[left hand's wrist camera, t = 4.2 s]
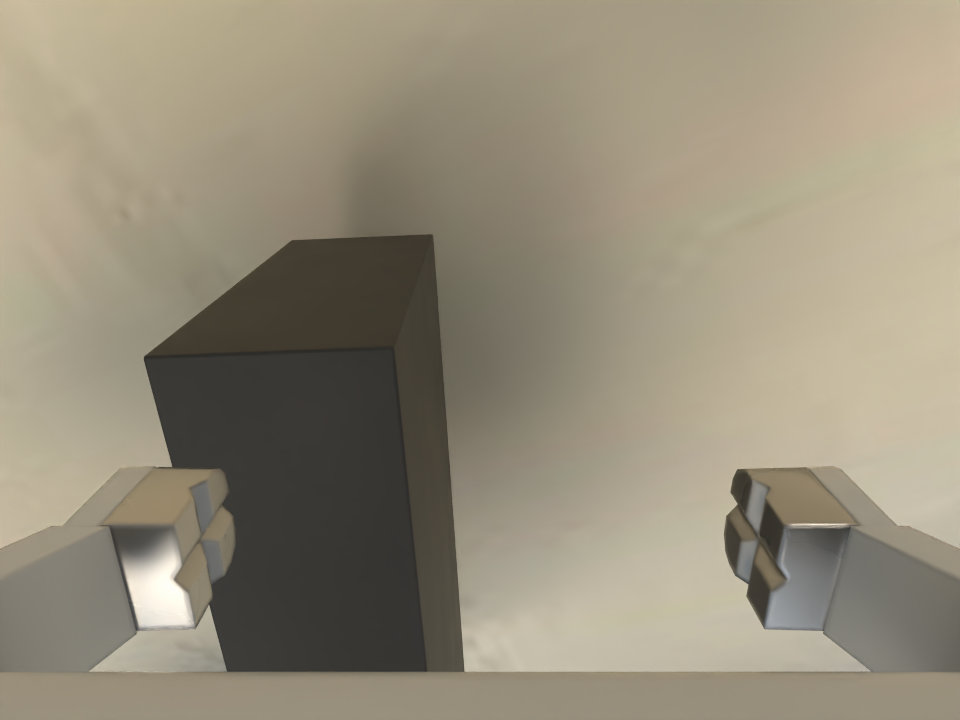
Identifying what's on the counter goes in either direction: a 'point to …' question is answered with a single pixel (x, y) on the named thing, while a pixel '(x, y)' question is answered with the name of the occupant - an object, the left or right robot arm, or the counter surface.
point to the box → (324, 457)
